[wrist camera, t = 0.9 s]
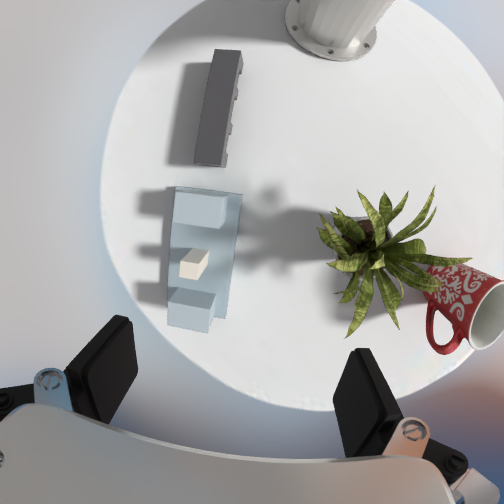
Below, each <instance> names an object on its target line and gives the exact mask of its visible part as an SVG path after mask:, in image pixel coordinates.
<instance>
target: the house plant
mask: <svg viewBox="0 0 504 504" xmlns="http://www.w3.org/2000/svg"><path fill="white" fill-rule="evenodd" d="M435 186H436V185H435ZM434 189H435V187H434V188H433V190H432V192H431V195H430V196H429V198H428V200H427V202H426V204H425V206H424V207H423V209H422V210H421V212H420V213H419V215H418V216H417V217H416V218H415V219H414V221H413V222H412V223H411V224H409V225H408V226H407V227H405V228H404V229H403V230H401V231H400V232H398V233H397V234H396V235H395V236H394V237H393V234H392V232H391V230H390V229H389V227H388V224H389V223H390V222H391V221H392V220H393V219H394V218H395V217H396V216H397V215H398V214H399V213H400V212H401V211H402V209H403V207H404V205H405V202H406V200H407V197H408V192H407V193H406V195H405V196H404V198H403V199H402V200H401V202H400V203H399V204H398V205H397V207H396V208H395V209H394V210H393V211H392V204H391V201H390V199H389V198H388V196H387V195H386V194H385V192H384V194H383V196H382V197H381V199H380V203H379V213H378V212H377V211H376V210H375V209H374V208H373V206H372V205H371V204H370V202H369V201H368V199H367V198H366V197H365V196H364V195H362V194H361V193H360V192H358V195H359V197H360V199H361V202H362V204H363V207H364V208H365V210H366V212H367V214H368V217H347V216H345V215H344V214H343V212H342V211H341V210H340V209H338V208H337V207H336V209H337V212H338V214H335V213H333V212H331V211H330V212H331V213H332V215H333V219H334V223H335V226H334V228H332V227H331V226H330V224H329V223H328V222H327V221H326V220H325V218H324V217H323V216H322V215H321V214H320V216H321V219H322V222H323V224H324V226H325V228H326V230H325V229H320V228H317V229H318V231H319V234H320V238H321V240H322V241H323V242H324V243H325V244H326V245H327V246H328V247H330V248H332V249H333V251H334V254H335V258H336V261H334V262H332V263H327V264H328V265H329V266H330V267H333V268H335V269H337V270H340V271H342V272H343V273H344V274H345V275H347V276H348V277H349V278H351V280H350V282H349V284H348V286H347V288H346V290H345V291H341V292H338V293H334V294H339V293H344V295H343V298H342V299H341V301H340V302H339V303H346V302H349V301H351V300H352V299H353V298H354V296H355V295H356V292H357V291H358V290H360V292H359V295H358V297H357V300H356V302H355V312H354V318H353V320H352V323H351V325H350V327H349V329H348V333H347V336H346V337H345V338H347V337H348V336H350V335H351V334H352V333H353V332H354V331H355V330H356V329H357V328H358V327H359V326H360V324H361V323H362V321H363V319H364V318H365V315H366V313H367V310H368V308H369V305H370V303H371V300H372V297H373V278H376V281H377V284H378V286H379V289H380V291H381V295H382V299H383V302H384V304H385V307H386V309H387V311H388V313H389V315H390V316H391V318H392V320H393V322H394V323H395V324H396V326H397V327H398V329H399V325H398V321H397V318H396V314H395V310H396V309H397V308H398V306H399V305H400V301H401V298H400V294H399V292H398V290H397V288H396V287H395V285H394V284H393V282H392V281H391V279H390V278H389V276H388V275H387V274H386V272H385V270H387V271H388V272H389V273H390V274H392V275H393V276H394V277H396V278H397V279H398V281H399V283H400V287H401V293H402V300H403V296H404V290H403V286H402V284H401V282H400V280H401V281H402V282H404V283H405V284H407V285H408V286H410V287H412V288H415V289H418V290H421V291H426V292H440V291H439V290H437V289H436V288H434V287H440V286H444V285H443V284H442V283H441V282H440V281H439V280H437V279H436V278H435V277H433V276H432V275H430V274H429V273H427V272H426V271H424V270H422V269H421V268H419V267H418V266H416V265H415V264H413V263H411V262H417V263H422V264H428V265H433V266H440V267H450V266H454V265H457V264H460V263H464V262H467V261H469V260H470V259H472V258H445V257H437V256H432V255H427V254H425V252H426V247H425V245H424V242H423V241H422V240H421V239H413V240H411V241H408V242H404V243H398V242H400V241H402V240H404V239H406V238H408V237H410V236H413V235H415V234H417V233H419V232H420V231H422V230H423V229H425V228H426V227H427V226H428V225H429V223H430V222H431V220H432V218H433V216H434V214H435V211H436V208H435V209H434V211H433V213H432V214H431V216H430V217H429V219H428V220H427V221H426V222H425V223H424V224H423V225H422V226H421V227H419V228H418V229H416V230H415V231H413V230H414V229H415V228H417V227H418V226H419V225H420V224H421V223H422V222H423V221H424V220H425V218H426V216H427V213H428V211H429V208H430V205H431V203H432V200H433V197H434ZM357 191H358V189H357ZM436 207H437V206H436ZM411 231H413V232H411ZM410 232H411V233H410ZM408 233H409V234H408ZM396 263H397V264H396ZM398 264H399V265H398ZM400 265H401V266H403V267H405V268H407V269H408V270H410V271H412V272H413V273H415V274H416V275H418V276H416V275H414V274H412V273H411V272H409V271H408V270H406V269H404V268H403V267H401V266H400ZM419 276H420V277H419ZM359 280H360V281H362V285H361V286H360V287H358V284H359ZM429 280H430V281H429ZM431 281H433V282H435V283H433V282H431ZM441 284H442V285H441ZM399 330H400V329H399Z"/></svg>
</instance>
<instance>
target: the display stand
mask: <svg viewBox="0 0 504 504" xmlns="http://www.w3.org/2000/svg"><path fill="white" fill-rule="evenodd" d="M242 197H243V195H242V194H235V193H228V192H221V191H213V190H205V189H197V188H188V187H176V188H175V197H174V206H173V216H172V228H171V240H170V254H169V272H168V296H167V308H168V316H167V325H169V326H174V327H179V328H183V329H188V330H193V331H199V332H204V333H208V331H209V329H210V326H211V323H212V320H213V317H217V318H223V319H225V318H226V314H227V307H228V299H229V291H230V283H231V276H232V268H233V261H234V253H235V246H236V239H237V232H238V225H239V218H240V211H241V204H242Z"/></svg>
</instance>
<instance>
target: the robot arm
mask: <svg viewBox="0 0 504 504" xmlns="http://www.w3.org/2000/svg"><path fill="white" fill-rule="evenodd" d="M394 1H395V0H292V1H291V2H290V3H289V5H288V6H287V9H286V12H285V24H286V27H287V29H288V32H289V33H290V35H291V36H292V38H293V39H294V40H295V41H296V42H297V43H298V44H299V45H301V46H302V47H303V48H305V49H306V50H308V51H310V52H311V53H313V54H315V55H318V56H320V57H323V58H327V59H330V60H337V61H350V60H355V59H358V58H361V57H363V56H364V55H366V54H367V53H368V52H369V51H370V50H371V49H372V48H373V46H374V45H375V42H376V39H377V31H376V27H375V25H376V24H377V22H378V21H379V20H380V18H381V17H382V16H383V15H384V13H385V12H386V11H387V10H388V8H389V7H390V6H391V5H392V3H393V2H394ZM295 30H296V31H295ZM329 53H330V54H329ZM137 373H138V365H137V358H136V350H135V343H134V333H133V324H132V322H131V321H129V318H128V317H125V316H120V315H115V316H113V317H112V319H111V320H110V321H109V322H108V323H107V324H106V325H105V326H104V327H103V328H102V329H101V330H100V331H99V332H98V333H97V334H96V335H95V336H94V337H93V339H92V340H91V341H90V342H89V343H88V344H87V345H86V346H85V347H84V348H83V349H82V350H81V351H80V353H79V354H78V355H77V356H76V357H75V358H74V359H73V360H72V361H71V363H70V364H69V365H68V366H67V367H66V369H65V370H64V371H63V372H62V371H61V370H59V369H56V368H46V369H43V370H41V371H40V372H38V373H37V374H36V376H35V377H34V383H33V384H27V385H21V386H15V387H8V388H1V389H0V504H497V503H498V501H499V498H500V492H499V489H498V488H497V487H496V486H495V485H494V484H493V483H491V482H490V481H489V480H487V479H486V478H485V477H484V476H482V475H481V474H480V473H478V472H477V471H476V470H475V469H473V468H471V469H470V470H469V469H468V460H467V458H466V457H465V455H464V454H463V453H461V452H459V451H457V450H455V449H452V448H450V447H448V446H445V445H443V444H441V443H439V442H437V441H435V440H432V439H430V438H429V437H430V430H429V427H428V426H427V424H426V423H425V422H424V421H422V420H420V419H418V418H414V417H408V418H404V417H403V415H402V413H401V411H400V408H399V406H398V404H397V402H396V400H395V398H394V396H393V394H392V392H391V390H390V387H389V385H388V383H387V381H386V380H385V378H384V376H383V374H382V372H381V370H380V368H379V366H378V364H377V362H376V360H375V358H374V356H373V354H372V352H371V351H370V349H369V348H356V349H355V350H354V351H351V353H350V355H349V358H348V360H347V363H346V366H345V368H344V371H343V373H342V376H341V378H340V381H339V383H338V386H337V388H336V391H335V393H334V396H333V404H334V408H335V413H336V417H337V421H338V425H339V429H340V434H341V438H342V442H343V447H344V452H345V456H346V458H334V459H276V458H275V459H274V458H260V457H248V456H239V455H231V454H223V453H217V452H211V451H205V450H199V449H194V448H189V447H185V446H180V445H175V444H171V443H167V442H163V441H159V440H155V439H152V438H148V437H145V436H141V435H138V434H135V433H132V432H128V431H125V430H122V429H119V428H116V427H113V426H110V425H109V423H110V421H111V419H112V418H113V416H114V414H115V412H116V410H117V409H118V407H119V405H120V403H121V402H122V400H123V398H124V396H125V395H126V393H127V391H128V390H129V388H130V386H131V384H132V383H133V381H134V379H135V378H136V376H137Z"/></svg>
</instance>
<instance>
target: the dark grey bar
mask: <svg viewBox="0 0 504 504" xmlns="http://www.w3.org/2000/svg"><path fill="white" fill-rule="evenodd" d="M242 68H243V59H242V54H241V51H239V50H222V49H215V51H214V55H213V59H212V64H211V68H210V73H209V78H208V83H207V88H206V93H205V98H204V103H203V109H202V114H201V120H200V126H199V132H198V138H197V144H196V151H195V158H194V163H197V164H201V165H210V166H218V167H226V163H227V157H228V154H226V147H227V141H228V134H229V135H231V131H232V124H231V116H232V110H233V104H234V100H237V96H238V89H237V82H238V77H239V74H242Z"/></svg>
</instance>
